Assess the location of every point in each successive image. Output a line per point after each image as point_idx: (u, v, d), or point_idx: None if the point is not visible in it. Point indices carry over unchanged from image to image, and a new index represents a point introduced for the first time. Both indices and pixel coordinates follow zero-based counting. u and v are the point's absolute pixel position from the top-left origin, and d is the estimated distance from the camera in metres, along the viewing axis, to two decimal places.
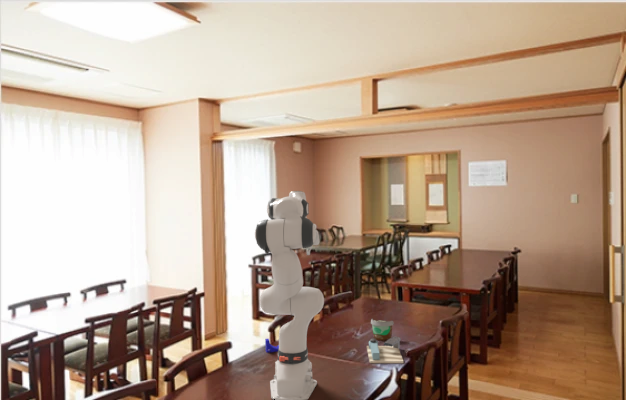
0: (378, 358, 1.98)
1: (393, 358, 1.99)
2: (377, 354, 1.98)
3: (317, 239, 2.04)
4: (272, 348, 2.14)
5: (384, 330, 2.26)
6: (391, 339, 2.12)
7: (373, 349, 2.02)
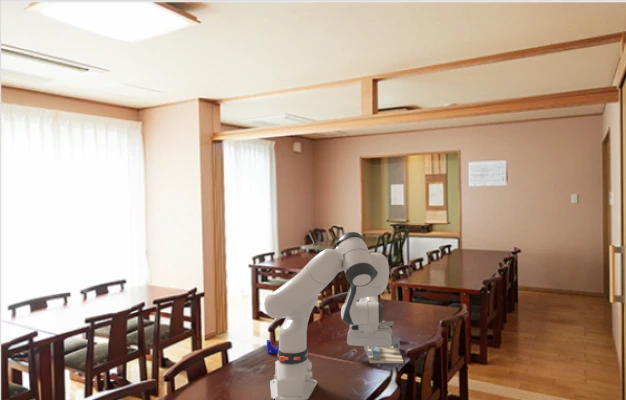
0: (379, 358, 1.98)
1: (393, 358, 1.99)
2: (378, 354, 1.98)
3: None
4: (273, 349, 2.12)
5: None
6: None
7: (374, 349, 2.02)
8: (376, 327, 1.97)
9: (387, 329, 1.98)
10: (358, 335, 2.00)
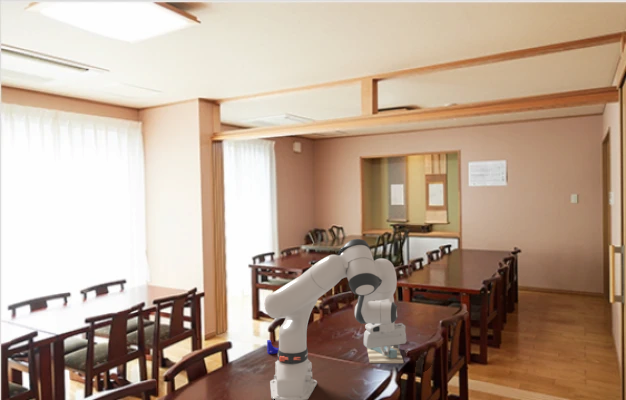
0: (396, 356, 2.00)
1: (393, 358, 1.99)
2: (395, 352, 2.00)
3: None
4: (274, 350, 2.12)
5: None
6: None
7: None
8: (394, 325, 1.99)
9: (401, 326, 2.02)
10: (377, 336, 1.98)
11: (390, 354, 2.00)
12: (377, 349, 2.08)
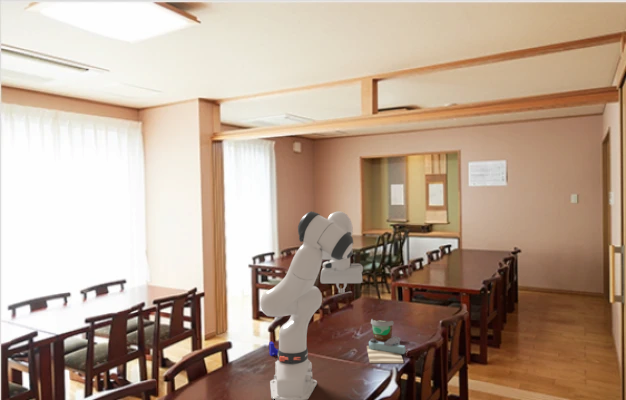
0: None
1: (393, 358, 1.99)
2: (404, 347, 2.06)
3: None
4: (277, 351, 2.09)
5: (384, 330, 2.26)
6: (391, 339, 2.12)
7: (394, 345, 2.07)
8: (348, 264, 2.07)
9: (358, 266, 2.09)
10: (331, 273, 2.09)
11: (401, 350, 2.05)
12: (382, 348, 2.09)
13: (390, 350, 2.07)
